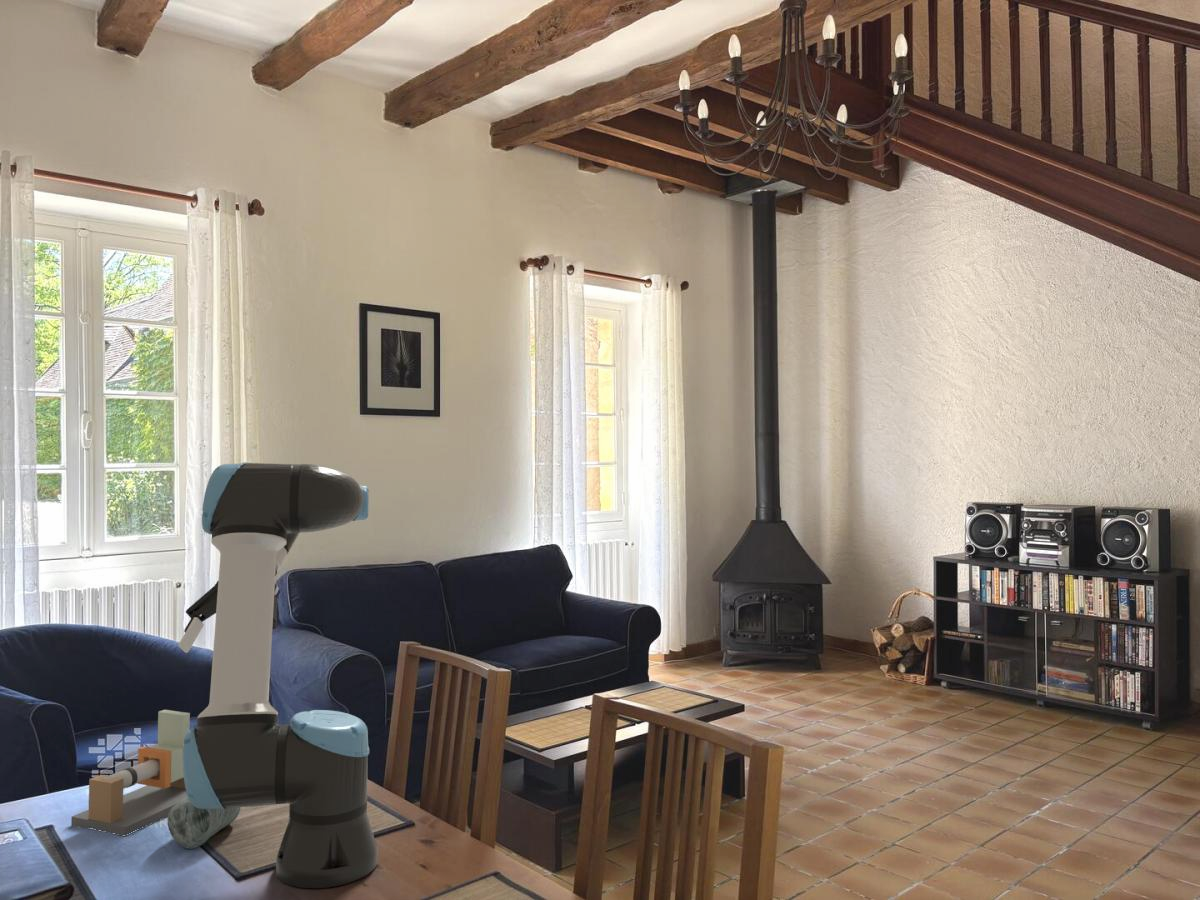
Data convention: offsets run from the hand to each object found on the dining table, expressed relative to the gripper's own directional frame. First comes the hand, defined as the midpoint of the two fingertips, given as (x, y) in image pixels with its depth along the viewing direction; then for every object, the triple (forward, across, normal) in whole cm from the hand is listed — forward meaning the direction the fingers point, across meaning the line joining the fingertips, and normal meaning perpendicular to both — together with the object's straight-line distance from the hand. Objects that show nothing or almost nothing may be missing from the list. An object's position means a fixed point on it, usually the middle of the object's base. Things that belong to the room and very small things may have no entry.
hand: (211, 653), depth 176 cm
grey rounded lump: (+33, -18, 0) cm, 37 cm away
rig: (+29, 0, -5) cm, 29 cm away
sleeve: (+23, -1, -6) cm, 23 cm away
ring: (+25, 0, -4) cm, 25 cm away
